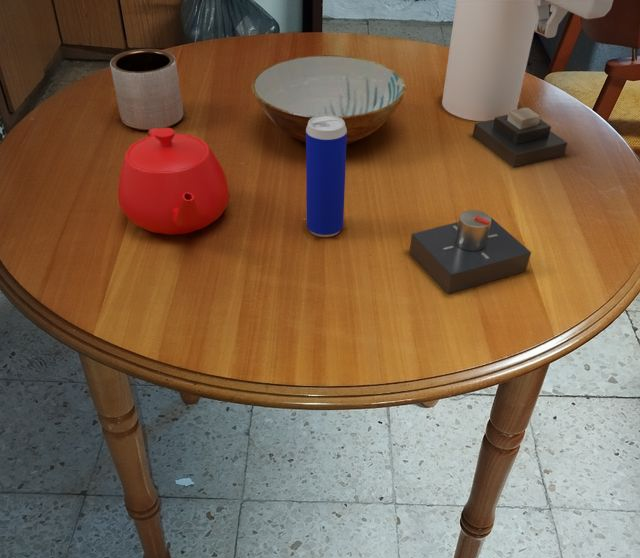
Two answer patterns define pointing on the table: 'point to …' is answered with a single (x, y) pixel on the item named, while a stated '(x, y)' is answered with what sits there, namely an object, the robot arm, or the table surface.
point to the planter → (147, 88)
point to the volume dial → (473, 230)
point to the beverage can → (325, 174)
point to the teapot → (172, 183)
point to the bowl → (328, 93)
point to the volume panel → (468, 257)
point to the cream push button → (523, 118)
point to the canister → (488, 57)
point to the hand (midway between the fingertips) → (544, 34)
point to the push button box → (519, 141)
